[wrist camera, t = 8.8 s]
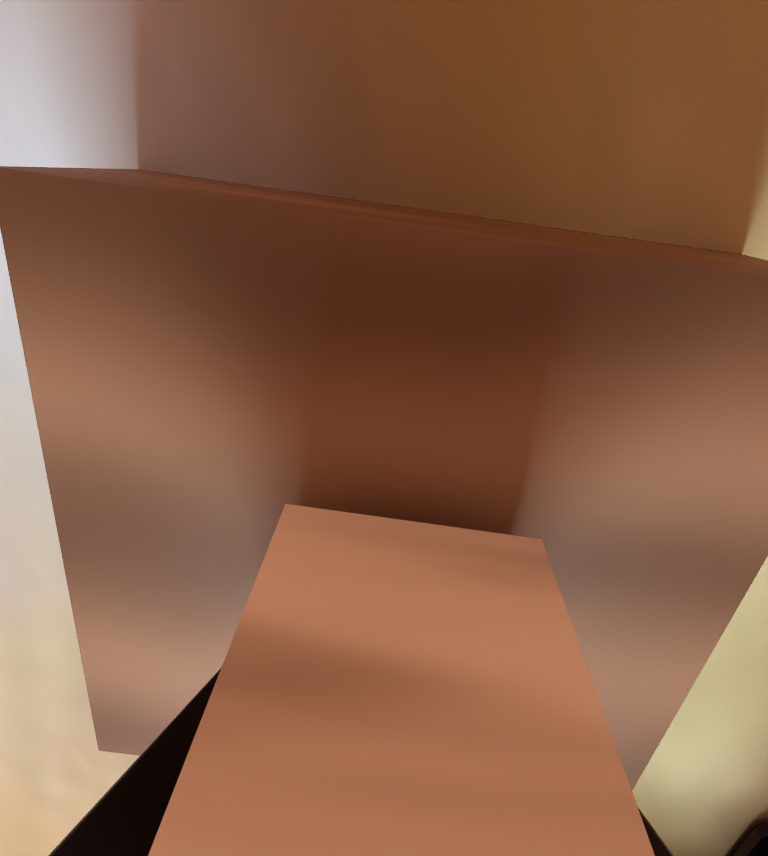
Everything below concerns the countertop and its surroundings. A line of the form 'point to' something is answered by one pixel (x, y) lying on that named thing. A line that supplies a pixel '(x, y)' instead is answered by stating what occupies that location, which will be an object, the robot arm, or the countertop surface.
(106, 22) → the countertop surface
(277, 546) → the maple block
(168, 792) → the robot arm
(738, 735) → the countertop surface
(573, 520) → the walnut block
